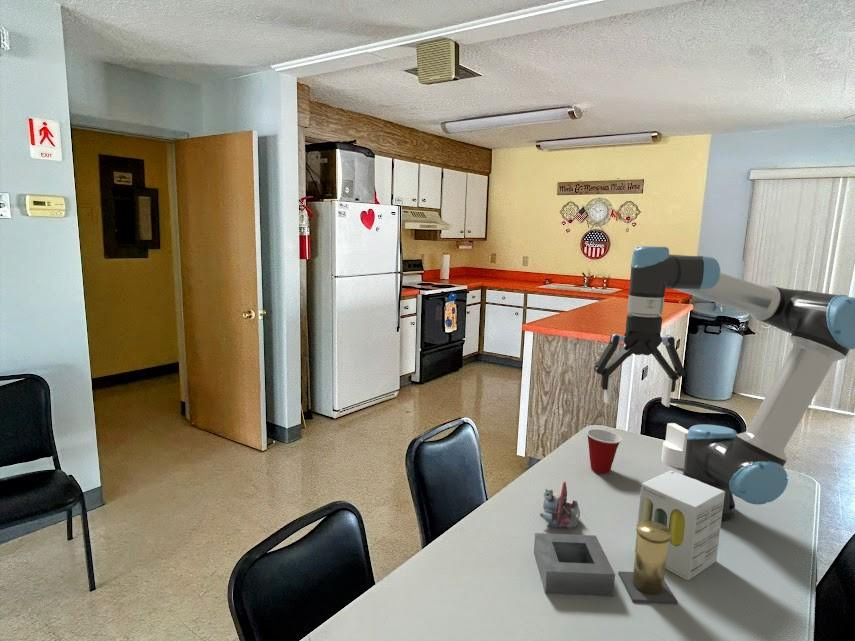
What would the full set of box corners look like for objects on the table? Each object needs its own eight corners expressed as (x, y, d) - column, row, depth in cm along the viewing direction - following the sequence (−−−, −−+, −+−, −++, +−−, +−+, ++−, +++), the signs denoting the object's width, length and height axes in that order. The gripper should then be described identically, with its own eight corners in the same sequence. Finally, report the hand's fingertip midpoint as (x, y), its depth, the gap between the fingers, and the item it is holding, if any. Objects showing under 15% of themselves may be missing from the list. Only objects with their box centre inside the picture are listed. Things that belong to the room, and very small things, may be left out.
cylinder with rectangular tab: (655, 457, 178) (658, 424, 176) (678, 455, 180) (681, 422, 178) (673, 469, 169) (677, 434, 167) (697, 467, 171) (701, 432, 169)
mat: (659, 575, 116) (659, 573, 116) (677, 604, 107) (677, 601, 107) (618, 573, 116) (618, 571, 116) (632, 602, 107) (633, 599, 107)
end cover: (657, 576, 114) (663, 521, 112) (669, 597, 108) (676, 539, 106) (626, 575, 115) (632, 520, 112) (637, 595, 108) (643, 537, 106)
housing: (594, 555, 122) (595, 535, 122) (613, 596, 109) (615, 574, 108) (533, 552, 123) (535, 532, 122) (544, 593, 109) (546, 571, 108)
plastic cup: (624, 478, 162) (627, 441, 160) (588, 477, 162) (591, 440, 160) (612, 463, 173) (615, 428, 171) (579, 462, 173) (582, 427, 171)
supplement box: (632, 551, 124) (639, 482, 122) (663, 534, 132) (670, 468, 129) (687, 582, 114) (696, 507, 111) (717, 561, 121) (726, 490, 119)
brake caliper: (586, 529, 129) (558, 487, 130) (548, 545, 133) (522, 504, 134) (591, 508, 139) (565, 469, 140) (556, 523, 143) (531, 485, 145)
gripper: (594, 315, 116) (586, 407, 120) (708, 318, 116) (697, 411, 119) (585, 310, 124) (578, 397, 127) (692, 313, 123) (682, 400, 127)
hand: (636, 404), depth 123 cm, fingers open, 13 cm apart
